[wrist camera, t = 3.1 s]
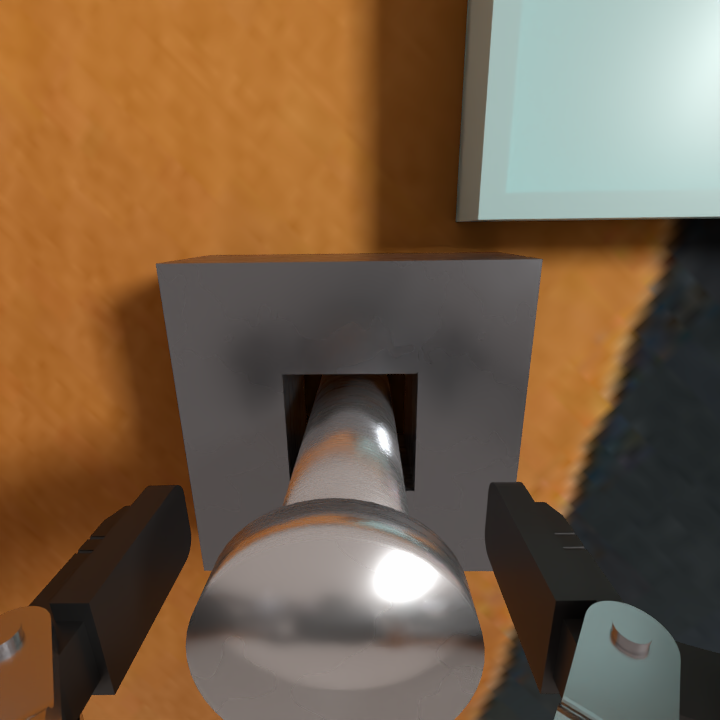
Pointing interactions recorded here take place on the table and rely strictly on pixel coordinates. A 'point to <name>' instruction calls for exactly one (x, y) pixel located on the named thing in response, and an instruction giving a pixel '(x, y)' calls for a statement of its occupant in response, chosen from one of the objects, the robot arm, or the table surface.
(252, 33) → the table surface
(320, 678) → the steel pin
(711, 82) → the tray
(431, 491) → the hitch block
